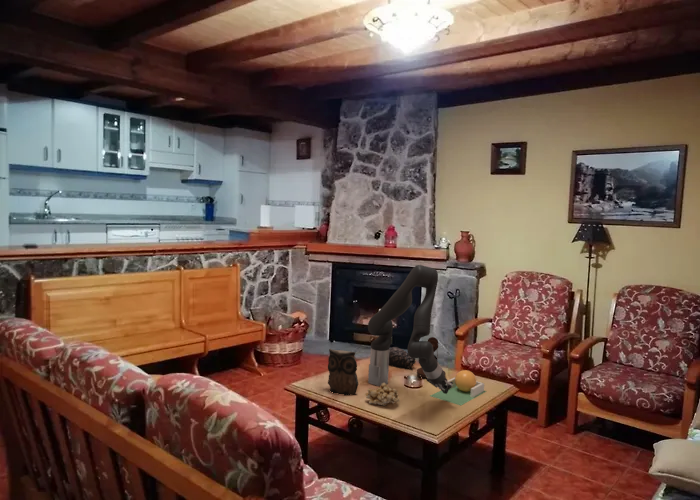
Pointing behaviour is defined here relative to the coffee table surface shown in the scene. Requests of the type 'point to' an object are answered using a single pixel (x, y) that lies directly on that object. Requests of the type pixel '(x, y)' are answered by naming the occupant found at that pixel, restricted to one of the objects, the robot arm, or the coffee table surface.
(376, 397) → the mineral formation
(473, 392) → the white side walls
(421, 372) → the dark wooden ornament
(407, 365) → the pine cone
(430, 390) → the coffee table surface
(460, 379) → the ball
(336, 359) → the owl
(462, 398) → the felt strip
